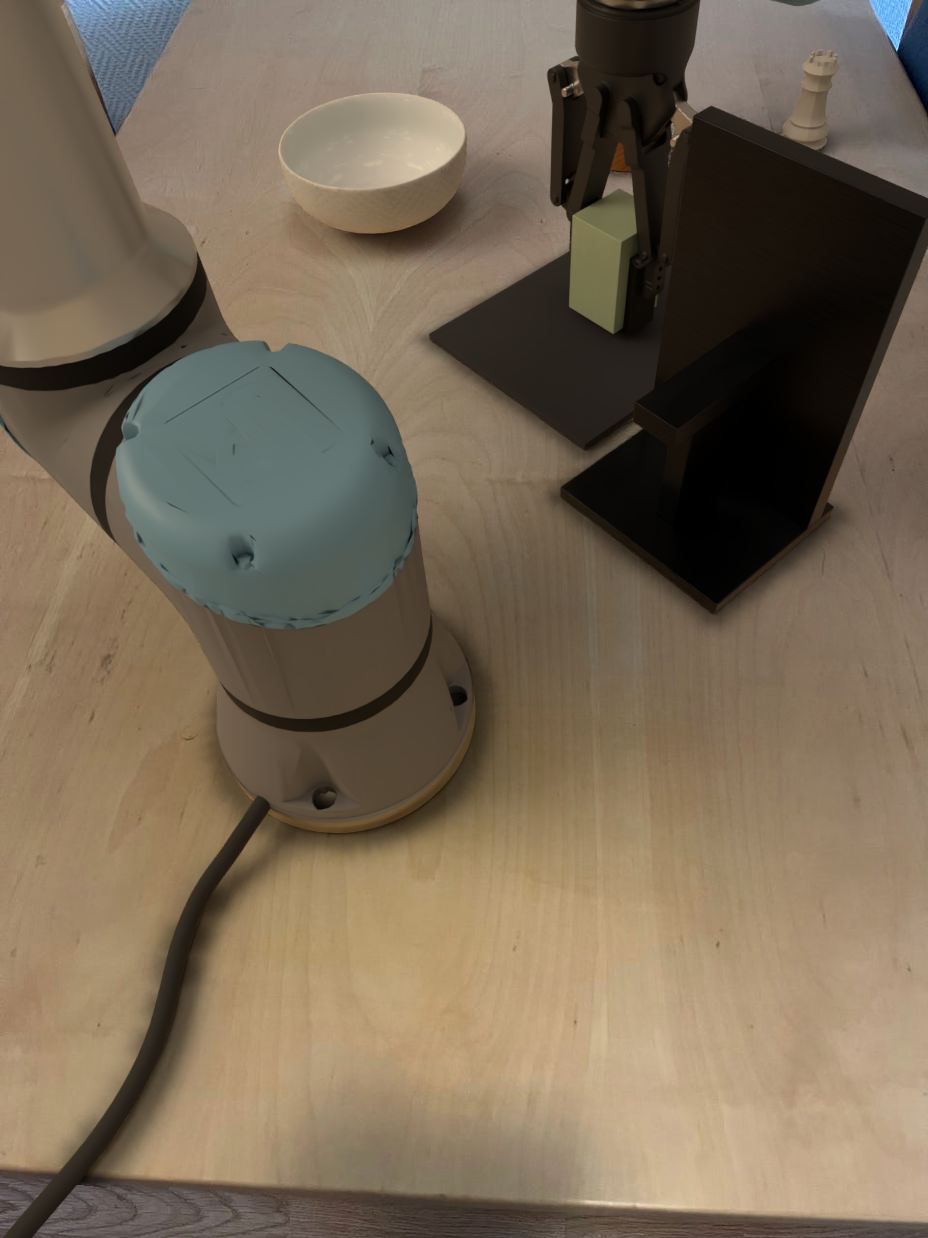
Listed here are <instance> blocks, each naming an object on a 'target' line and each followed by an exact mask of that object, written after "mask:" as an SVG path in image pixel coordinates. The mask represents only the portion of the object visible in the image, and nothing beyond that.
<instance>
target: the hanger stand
mask: <svg viewBox="0 0 928 1238" xmlns="http://www.w3.org/2000/svg"><path fill="white" fill-rule="evenodd" d="M927 251H928V197H927V196H924V195H921V194H920V193H918V192H915V191H913V190H910V189H907V188H905V187H904V186H902V185H898V184H896V183H894V182H891V181H889V180H886V179H884V178H882V177H879V176H878V175H876V174H873V173H871V172H868V171H866V170H863V169H862V168H859V167H857V166H855V165H851V164H849V163H847V162H845V161H842V160H840V159H838V158H835V157H833V156H831V155H828V154H826V153H823V152H822V151H820V150H818V151H817V150H814V149H812V148H810V147H807V146H805V145H803V144H800V143H798V142H796V141H793V140H791V139H789V138H786V137H784V136H782V135H781V134H779V133H777V132H775V131H772V130H770V129H767V128H765V127H763V126H761V125H758V124H756V123H754V122H751V121H749V120H747V119H744V118H742V117H739V116H737V115H735V114H733V113H730V112H728V111H725V110H724V109H721V108H719V107H716V106H714V105H710V106H708V107H706V108H704V109H702V110H700V111H699V112H697V114H695V115H694V116H693V120H692V127H691V134H690V141H689V148H688V155H687V162H686V169H685V176H684V183H683V190H682V197H681V204H680V211H679V218H678V225H677V232H676V239H675V246H674V253H673V259H672V266H671V273H670V280H669V287H668V294H667V301H666V308H665V315H664V322H663V329H662V336H661V343H660V350H659V357H658V364H657V371H656V378H655V385H654V389H653V390H652V391H650V392H649V393H647V394H646V395H644V396H643V397H641V398H640V399H639V400H637V401H636V402H635V404H634V413H633V417H632V422H633V423H634V424H636V425H637V426H639V427H640V428H642V429H640V430H639V431H638V432H636V433H635V434H633V435H632V436H631V437H629V438H627V440H625V441H624V442H622V443H621V444H619V445H618V446H617V447H615V448H614V449H612V450H611V451H610V452H608V453H607V454H605V455H604V456H602V457H601V458H600V459H598V460H597V461H595V462H594V463H593V464H591V465H590V466H588V467H587V468H585V469H584V470H582V472H580V473H578V474H577V475H575V476H574V477H573V478H572V479H570V480H569V481H567V482H566V483H565V484H563V485H562V486H560V488H559V496H560V497H559V498H561V499H562V500H563V501H565V502H566V503H568V504H569V505H570V506H572V507H573V508H574V509H575V510H577V511H578V512H579V513H581V514H582V515H583V516H585V517H586V518H587V519H589V520H590V521H591V522H592V523H594V524H595V525H596V526H598V527H599V528H600V529H601V530H603V531H604V532H605V533H607V534H608V535H610V536H611V537H612V538H613V539H615V540H616V541H618V543H620V544H621V545H622V546H623V547H625V548H627V549H628V550H629V551H631V552H632V553H633V554H634V555H636V556H637V557H638V558H640V559H641V560H643V562H645V563H646V564H648V565H649V566H650V567H652V568H653V569H654V570H655V571H657V572H658V573H659V574H661V575H662V577H664V578H666V579H667V580H669V581H670V582H671V583H672V584H674V585H675V586H676V587H677V588H679V589H680V590H682V591H683V592H684V593H685V594H686V595H688V596H689V597H691V598H692V599H693V600H694V601H696V602H697V603H698V604H700V605H701V606H703V607H704V608H705V609H706V610H708V611H709V612H710V613H712V614H713V615H714V614H716V613H717V612H718V611H720V610H721V609H723V607H725V605H727V604H728V603H729V602H731V601H732V600H733V599H735V597H736V596H737V595H738V594H740V593H741V592H742V591H743V590H745V589H746V588H747V587H748V586H749V585H751V584H752V583H753V582H754V581H755V580H757V579H758V578H759V577H760V576H761V575H763V573H765V572H766V571H767V570H768V569H770V568H771V567H772V566H774V565H775V564H776V563H777V562H778V561H779V560H780V559H781V558H783V556H785V555H787V553H788V552H790V551H791V550H792V549H793V548H794V547H796V546H797V545H799V543H801V541H803V540H804V539H805V538H806V537H807V536H809V535H810V534H811V533H812V532H814V530H816V529H817V528H818V527H820V525H822V524H823V523H824V522H826V520H828V519H829V518H830V517H831V516H832V513H833V511H834V509H835V506H834V505H833V504H831V503H830V502H828V500H829V498H830V495H831V494H832V491H833V488H834V485H835V483H836V480H837V478H838V476H839V473H840V470H841V468H842V466H843V463H844V460H845V459H846V458H845V457H846V455H847V452H848V450H849V448H850V445H851V442H852V440H853V438H854V435H855V432H856V430H857V428H858V424H859V423H860V419H861V417H862V415H863V412H864V410H865V407H866V404H867V402H868V399H869V397H870V395H871V392H872V390H873V387H874V385H875V382H876V379H877V377H878V374H879V371H880V369H881V366H882V364H883V361H884V359H885V356H886V354H887V351H888V349H889V347H890V345H891V342H892V339H893V336H894V334H895V331H896V328H897V326H898V325H899V324H898V323H899V321H900V319H901V316H902V314H903V311H904V308H905V306H906V304H907V301H908V299H909V296H910V293H911V291H912V288H913V287H914V283H915V281H916V278H917V275H918V272H919V271H920V268H921V266H922V263H923V261H924V258H925V256H926V253H927Z"/></svg>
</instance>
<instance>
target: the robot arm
mask: <svg viewBox="0 0 928 1238" xmlns="http://www.w3.org/2000/svg"><path fill="white" fill-rule="evenodd" d="M770 1H771V2H776V3H780V4H784V5H788V6H793V7H804V6H807V5H812V4H814V3H817V2H820V0H770ZM575 2H576V5H575V6H576V7H575V30H574V31H575V34H574V49H575V52H576V55H574V56H572V57H569V58H568V59H566V60H564V61H562V62H560V63H558V64H556V65H554V66H552V67H550V68H548V70H547V72H546V79H547V84H548V89H549V90H548V91H549V94H550V100H551V104H552V105H551V111H552V112H551V136H550V137H551V139H550V142H551V143H550V176H549V177H550V178H549V179H550V180H549V184H550V185H549V199H550V202H551V204H552V205H553V206H554V207H556V208H558V207H560V206H561V207H562V208H563V210H565V212H566V213H565V214H566V215H565V216H566V218H567V220H568V221H569V245H568V250H569V251H570V255H571V243H572V217H573V215H574V214H576V213H577V212H579V211H581V210H583V209H584V208H586V207H588V206H590V205H591V204H593V203H595V202H597V201H598V200H600V199H602V198H603V197H604V193H605V190H606V186H607V183H608V179H609V176H610V172H611V170H612V169H611V166H612V162H613V159H614V156H615V152H616V149H617V145H618V142H620V143H621V144H622V145H623V148H624V159H625V164H626V165H627V166H628V167H630V168H631V171H630V174H631V175H630V176H631V185H632V186H631V187H632V195H633V197H634V208H635V218H636V229H637V240H638V250H639V253H638V254H636V255H634V256H633V257H631V258H630V262H629V273H628V283H627V293H626V303H625V313H624V323H623V330H622V331H623V332H624V333H626V334H628V335H631V334H632V333H634V332H635V331H637V330H638V329H640V328H641V327H643V326H645V325H646V324H648V323H649V322H651V321H652V320H653V314H654V306H655V298H656V295H658V294H659V293H661V292H662V290H663V288H664V283H665V282H664V281H665V276H666V269H667V266H670V265H671V264H672V259H673V253H674V246H675V239H676V232H677V225H678V218H679V211H680V204H681V197H682V190H683V183H684V176H685V169H686V162H687V155H688V148H689V141H690V134H691V127H692V120H693V116H694V115H695V114H697V113H698V112H697V111H696V110H695V109H694V108H693V107H692V106H691V105H690V104H689V103H688V99H689V92H688V88H687V83H686V70H687V66H688V63H689V61H690V59H691V56H692V54H693V51H694V49H695V44H696V37H697V29H698V23H699V21H698V20H699V14H700V7H701V0H576V1H575ZM672 124H673V128H674V132H673V131H672ZM672 132H673V134H672ZM670 153H671V155H670ZM669 155H670V157H669ZM0 428H1V429H2V430H3V431H4V432H5V434H6V435H7V436H8V437H9V439H10V440H11V441H12V442H13V443H14V444H15V445H17V447H18V448H20V449H21V450H22V451H23V452H24V454H26V455H27V456H29V457H30V458H31V459H33V460H34V461H35V462H36V463H38V465H39V466H40V467H42V469H43V470H44V471H45V472H46V473H47V474H48V475H49V476H50V477H51V478H52V479H53V480H54V481H55V482H56V483H57V484H58V485H59V486H60V487H61V489H63V491H65V492H66V493H67V494H68V495H69V496H70V497H71V498H72V500H73V501H74V502H75V503H76V504H77V505H78V506H79V507H80V508H81V509H82V510H83V511H84V512H85V513H86V514H87V515H88V517H90V518H91V519H92V520H93V522H95V524H96V525H98V527H100V528H101V530H102V531H104V533H105V534H106V535H107V536H108V537H109V538H110V540H112V541H113V542H114V543H115V544H116V545H117V546H118V547H119V549H120V550H122V552H123V553H124V554H126V556H127V557H128V558H129V559H130V560H131V561H132V562H133V563H134V564H135V566H137V568H138V569H139V570H141V572H142V573H143V574H144V575H145V576H146V577H147V578H148V579H149V580H150V582H152V583H153V584H154V585H155V587H157V589H158V590H159V591H160V592H161V593H162V594H163V595H164V596H165V598H167V599H168V601H169V602H170V603H171V604H172V605H173V607H174V608H175V610H176V611H177V612H178V613H179V615H180V617H182V618H183V620H184V621H185V623H186V624H187V626H188V627H189V629H190V630H191V632H192V634H193V637H195V640H196V641H197V644H198V645H199V646H200V648H201V650H202V653H203V654H204V656H205V657H206V659H207V661H208V664H209V666H210V667H211V669H212V671H213V672H214V674H215V676H216V677H217V692H216V705H215V716H214V717H215V733H216V739H217V743H218V747H219V750H220V752H221V755H222V758H223V760H224V762H225V764H226V766H227V767H228V769H229V771H230V773H231V774H232V776H233V778H234V779H235V781H236V783H237V784H238V785H239V787H240V788H241V789H242V791H243V792H244V794H245V795H246V796H247V797H248V798H249V799H250V801H252V803H251V804H250V805H249V807H248V809H247V810H246V812H245V813H244V815H243V816H242V817H241V819H240V820H239V822H238V823H237V825H236V826H235V828H234V829H233V830H232V832H231V833H230V835H229V837H228V838H227V839H226V841H225V842H224V844H223V845H222V847H221V848H220V850H219V851H218V852H217V854H216V856H214V858H213V860H212V861H211V862H210V863H209V864H208V866H207V868H206V869H205V870H204V872H203V873H202V874H201V876H200V877H199V879H198V881H197V882H196V884H195V886H194V887H193V889H192V891H191V892H190V895H189V896H188V898H187V901H186V903H185V905H184V907H183V908H182V911H181V914H180V916H179V919H178V921H177V924H176V926H175V929H174V931H173V936H172V938H171V941H170V944H169V948H168V951H167V955H166V959H165V963H164V967H163V972H162V976H161V979H160V984H159V988H158V992H157V996H156V1001H155V1003H154V1004H155V1005H154V1008H153V1012H152V1015H151V1018H150V1022H149V1026H148V1028H147V1031H146V1033H145V1035H144V1036H145V1037H144V1039H143V1041H142V1044H141V1047H140V1049H139V1051H138V1053H137V1056H136V1058H135V1060H134V1062H133V1064H132V1066H131V1068H130V1070H129V1072H128V1074H127V1075H126V1077H125V1079H124V1081H123V1083H122V1085H121V1086H120V1088H119V1090H118V1092H117V1093H116V1095H115V1097H114V1098H113V1099H112V1101H111V1103H110V1104H109V1106H108V1108H107V1109H106V1111H105V1112H104V1114H103V1115H102V1116H101V1118H100V1119H99V1121H98V1122H97V1123H96V1125H95V1126H94V1128H93V1129H92V1131H91V1132H90V1133H89V1134H88V1136H87V1137H86V1138H85V1140H84V1141H83V1142H82V1144H81V1145H80V1146H79V1147H78V1149H77V1150H76V1151H75V1152H74V1154H73V1155H71V1157H70V1158H69V1160H68V1161H67V1162H66V1163H65V1164H64V1165H63V1167H62V1168H61V1169H60V1170H59V1171H58V1173H56V1175H55V1176H54V1177H53V1179H51V1180H50V1182H49V1183H48V1184H47V1185H46V1186H45V1188H44V1189H42V1191H41V1192H40V1193H39V1194H38V1196H37V1197H36V1198H34V1200H33V1202H31V1204H30V1205H29V1206H27V1208H26V1209H25V1211H24V1212H23V1213H22V1214H21V1215H20V1217H19V1218H17V1220H16V1221H15V1222H14V1223H13V1224H12V1226H11V1227H10V1228H9V1229H8V1230H7V1231H6V1233H5V1234H4V1235H3V1236H2V1238H33V1237H35V1235H36V1234H37V1232H38V1231H39V1230H40V1229H41V1228H42V1227H43V1226H44V1224H46V1222H47V1221H48V1220H49V1218H51V1216H52V1215H53V1213H55V1212H56V1210H57V1209H58V1208H59V1207H60V1206H61V1204H62V1203H63V1202H64V1201H65V1200H66V1199H67V1197H68V1196H69V1195H70V1194H71V1193H72V1192H73V1190H74V1189H75V1188H76V1187H77V1186H78V1184H80V1182H81V1181H82V1180H83V1179H84V1178H85V1176H86V1175H87V1174H88V1172H89V1171H90V1170H91V1169H92V1167H93V1166H94V1165H95V1164H96V1162H97V1161H98V1160H99V1158H100V1157H101V1156H102V1155H103V1153H104V1152H105V1151H106V1149H107V1148H108V1147H109V1146H110V1145H111V1143H112V1141H113V1140H114V1138H115V1136H116V1135H117V1134H118V1132H119V1131H120V1129H122V1126H123V1125H124V1124H125V1122H126V1120H127V1119H128V1117H129V1116H130V1114H131V1112H132V1111H133V1109H134V1107H135V1106H136V1104H137V1103H138V1101H139V1099H140V1097H141V1096H142V1093H143V1092H144V1091H145V1088H146V1086H147V1084H148V1083H149V1081H150V1079H151V1077H152V1074H153V1072H154V1070H155V1069H156V1066H157V1065H158V1062H159V1060H160V1057H161V1055H162V1052H163V1049H164V1048H165V1044H166V1041H167V1039H168V1035H169V1033H170V1031H171V1027H172V1023H173V1019H174V1015H175V1011H176V1008H177V1003H178V1000H179V996H180V990H181V986H182V981H183V977H184V972H185V969H186V964H187V960H188V957H189V953H190V949H191V945H192V943H193V939H194V936H195V934H196V931H197V927H198V925H199V923H200V920H201V919H202V915H203V912H204V911H205V909H206V906H207V905H208V903H209V901H210V899H211V897H212V896H213V894H214V892H215V890H216V889H217V887H218V886H219V884H220V883H221V881H222V880H223V878H225V876H226V874H227V873H229V870H230V869H231V868H232V867H233V865H234V863H235V862H236V860H237V859H238V857H239V856H240V855H241V853H242V852H243V850H244V849H245V847H246V846H247V844H248V843H249V842H250V840H251V839H252V838H253V835H254V834H255V832H256V831H257V830H258V828H259V827H260V825H261V823H262V822H263V820H264V819H265V817H266V816H267V814H268V815H269V816H271V817H273V818H275V819H276V820H278V821H280V822H283V823H285V824H287V825H289V826H292V827H295V828H299V829H301V830H306V831H311V832H317V833H326V834H346V833H357V832H362V831H367V830H372V829H376V828H378V827H383V826H385V825H387V824H390V823H393V822H396V821H398V820H400V819H402V818H404V817H405V816H408V815H409V814H411V813H413V812H414V811H416V810H418V809H419V808H420V807H422V806H423V805H425V804H426V803H428V802H429V801H430V800H431V799H432V798H433V797H434V796H436V795H437V794H438V793H439V792H440V791H441V790H442V789H443V788H444V787H445V785H446V784H448V783H449V781H450V780H451V778H452V777H453V776H454V774H455V773H456V771H457V770H458V768H459V767H460V765H461V763H462V762H463V759H464V758H465V756H466V754H467V752H468V750H469V747H470V743H471V741H472V738H473V733H474V729H475V723H476V697H475V687H474V678H473V674H472V669H471V665H470V663H469V660H468V658H467V656H466V654H465V651H464V649H463V648H462V646H461V644H460V643H459V641H458V640H457V639H456V637H455V636H454V634H453V633H452V632H451V631H450V630H449V629H448V628H447V627H446V625H445V624H444V623H443V622H442V620H441V619H440V618H439V617H438V616H437V615H436V613H435V612H434V611H433V610H432V608H431V602H430V596H429V588H428V581H427V574H426V568H425V562H424V553H423V547H422V540H421V539H422V538H421V533H420V525H419V514H418V505H419V504H418V503H419V495H418V487H417V482H416V478H415V476H414V472H413V468H412V464H411V463H410V461H409V458H408V454H407V450H406V447H405V445H404V443H403V439H402V436H401V431H400V429H399V427H398V424H397V422H396V419H395V417H394V415H393V413H392V412H391V409H390V408H389V407H388V405H387V403H386V401H385V400H384V399H383V397H382V396H381V394H380V393H379V391H377V390H376V388H375V387H374V386H373V385H372V384H371V383H370V382H369V381H368V380H367V379H366V378H364V376H362V375H361V374H360V373H359V372H358V371H356V370H355V369H353V368H352V367H351V366H349V365H348V364H346V363H344V362H343V361H342V360H339V359H337V358H336V357H334V356H332V355H329V354H327V353H325V352H322V351H320V350H317V349H315V348H312V347H309V346H305V345H302V344H298V343H297V344H296V343H290V342H288V343H286V344H285V345H284V346H283V347H282V348H281V349H280V350H276V351H272V350H271V348H270V346H269V344H268V343H267V342H266V341H265V340H257V339H256V340H254V339H253V340H241V341H240V340H239V339H238V338H237V337H236V336H235V335H234V333H233V332H232V330H231V329H230V327H229V326H228V324H227V322H226V321H225V318H224V316H223V314H222V311H221V309H220V306H219V304H218V301H217V298H216V296H215V293H214V291H213V287H212V286H211V283H210V280H209V277H208V274H207V272H206V269H205V267H204V264H203V262H202V259H201V256H200V255H199V251H198V248H197V245H196V243H195V242H194V239H193V236H192V234H191V233H190V231H189V229H188V228H187V226H186V225H184V223H183V222H182V221H181V220H179V218H177V217H176V216H174V215H173V214H172V213H170V212H168V211H166V210H163V209H161V208H160V207H157V206H154V205H152V204H149V203H146V202H144V201H142V199H141V196H140V194H139V192H138V189H137V187H136V184H135V182H134V179H133V177H132V175H131V172H130V170H129V167H128V165H127V163H126V160H125V158H124V155H123V152H122V150H121V148H120V146H119V144H118V140H117V138H116V136H115V133H114V131H113V129H112V126H111V124H110V122H109V119H108V116H107V114H106V112H105V109H104V107H103V105H102V101H101V100H100V97H99V95H98V92H97V90H96V88H95V85H94V83H93V80H92V78H91V75H90V73H89V71H88V68H87V66H86V64H85V61H84V59H83V56H82V54H81V51H80V49H79V47H78V44H77V42H76V38H75V37H74V34H73V32H72V30H71V28H70V25H69V22H68V20H67V18H66V16H65V13H64V11H63V8H62V5H61V3H60V1H59V0H0Z"/></svg>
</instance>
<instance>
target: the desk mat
mask: <svg viewBox="0 0 928 1238" xmlns="http://www.w3.org/2000/svg"><path fill="white" fill-rule="evenodd" d="M671 266H672V264H671V265H670V266H667V269H666V276H665V281H664V282H665V283H664V288H663V290H662V292H661V293H659V294H658V297H657V305H656V307H654V314H653V320H652V321H651V322H649V323H648V324H646V325H645V326H643V327H641V328H640V329H638V330H637V331H635V332H634V333H632V334H631V335H628V334H626V333H624V332H623V331H622V330H623V328H622V329H620V330H619V331H617V332H616V333H614V334H612V333H611V332H609V331H607V330H606V329H604V328H603V327H601V326H599V325H598V324H596V323H595V322H593V321H591V320H590V319H588V318H586V317H585V316H583V315H582V314H580V313H578V312H577V311H575V310H574V309H572V308H570V307H569V295H570V269H571V255H570V250H569V251H567V252H565V253H563V254H562V255H560V256H559V257H557V258H555V259H553V260H551V261H549V262H548V263H547V264H545V265H543V266H541V267H540V268H539V269H536V270H535V271H533V272H531V273H530V274H528V275H526V276H524V277H523V278H521V279H519V280H518V281H516V282H514V283H513V284H511V285H509V286H507V287H506V288H504V289H502V290H501V291H499V292H497V293H496V294H494V295H492V296H490V297H489V298H487V299H485V300H484V301H481V303H479V304H477V305H476V306H474V307H472V308H470V309H468V310H467V311H465V312H463V313H462V314H460V315H459V316H457V317H455V318H453V319H452V320H450V321H448V322H447V323H444V324H443V325H442V326H440V327H438V328H437V329H435V330H433V331H431V332H430V333H429V334H428V336H429V340H430V341H431V342H432V343H434V344H435V345H437V346H438V347H440V348H441V349H442V350H444V351H445V352H447V353H448V354H449V355H451V356H452V357H453V358H454V359H456V360H457V361H458V362H461V363H462V364H463V365H464V366H466V367H467V368H469V369H470V370H472V371H473V372H474V373H476V374H477V375H478V376H479V377H481V378H483V379H484V380H485V381H487V382H488V383H489V384H491V385H493V386H494V387H495V388H497V389H498V390H499V391H501V392H502V393H503V394H505V395H507V396H508V397H510V398H511V399H512V400H514V401H515V402H516V403H518V404H519V405H521V406H522V407H523V408H525V409H526V410H528V411H529V412H530V413H531V414H533V415H535V416H536V417H538V418H539V420H541V421H543V422H544V423H546V424H547V425H549V427H551V428H553V429H554V430H555V431H557V432H558V433H560V434H561V435H562V436H564V437H565V438H566V439H568V440H570V441H571V442H572V443H574V444H575V445H576V446H578V447H579V448H581V449H582V450H584V451H586V450H587V449H589V448H590V447H592V446H593V445H595V444H596V443H597V442H598V441H600V440H601V439H603V438H605V437H606V436H608V435H609V434H610V433H611V432H613V431H614V430H616V429H617V428H619V427H620V426H622V425H623V424H625V423H626V422H627V421H629V420H630V419H632V418H633V413H634V404H635V402H636V401H637V400H639V399H640V398H641V397H643V396H644V395H646V394H647V393H649V392H650V391H652V390H653V389H654V385H655V378H656V371H657V364H658V357H659V350H660V343H661V336H662V329H663V322H664V315H665V308H666V301H667V294H668V287H669V280H670V273H671Z"/></svg>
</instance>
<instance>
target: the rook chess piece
mask: <svg viewBox="0 0 928 1238" xmlns="http://www.w3.org/2000/svg"><path fill="white" fill-rule="evenodd" d="M823 51H824V49H822V48H819V49H817V50H816V51H814V50H812V51H811V52H810V53H809V55H808V58H807V59H806V60H805V61H804V62H803V64H802V66H801V68H802V70H803V73H804V74H805V75H804V78H803V79H802V80H801V82H800V85H801V91H800V94H799V98H798V101H797V103H796V106H795V108H794V110H793V112H792V113H790V115H789V118H788V119H787V120H785V122H784V124H783V126H782V129H781V130H782V133H780V135H782V136H784V137H786V138H789V139H791V140H793V141H796V142H798V143H800V144H803V145H805V146H807V147H810V148H812V149H814V150H817V151H820V150H821V149H822V148H823V147H824V146H825V145H826V144H827V142H828V138H827V136H828V134H829V131H830V129H829V124H828V122H827V120H828V117H827V116H826V108H827V100H828V95H829V91H830V90H831V89H833V83H832V78H833V77H834V76H835V75H836V74H837V72H839V70H840V66H839V63H838V57H839V55H838V53H837V52H836V53H834V51H833V50H830V49H827V51H826V54H823Z"/></svg>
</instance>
